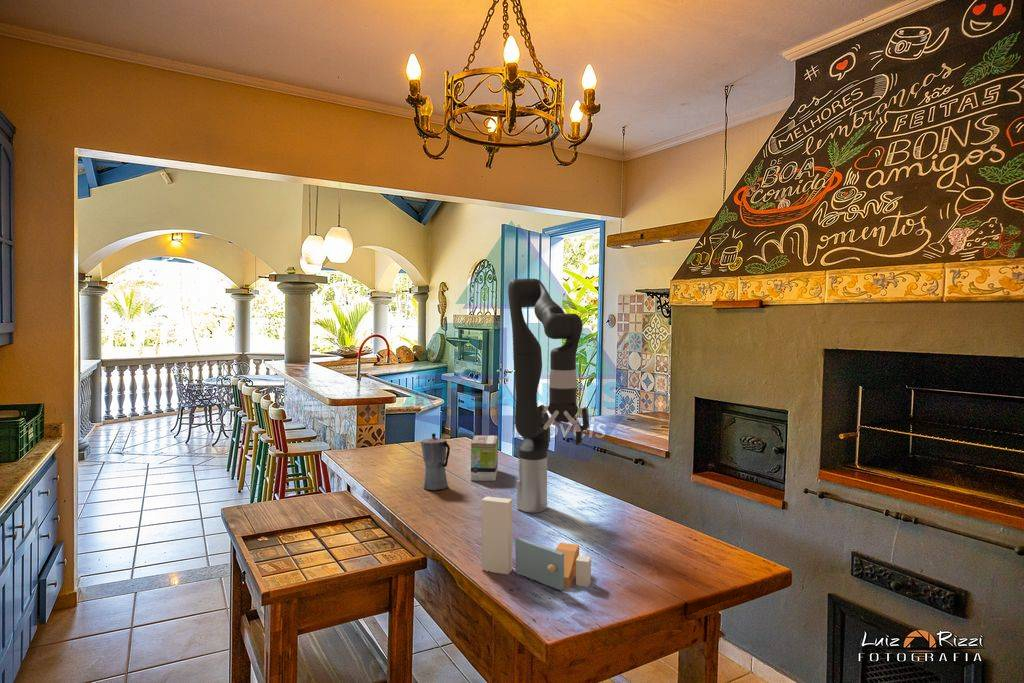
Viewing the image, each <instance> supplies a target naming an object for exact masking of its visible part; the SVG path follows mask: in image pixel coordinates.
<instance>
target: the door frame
mask: <svg viewBox="0 0 1024 683" xmlns="http://www.w3.org/2000/svg"><path fill="white" fill-rule="evenodd" d="M482 570H486V571H485V572H488V571H490V573H495V574H496V573H497V574H503V575H510V573H511V572H512V570H513V499H512V498H504V497H494V496H485V497H483V498H482V499H481V571H482ZM591 582H592V556H587V555H581V554H579V556H578V558H577V559H576V575H575V586H580V587H586V588H587V587H590V585H591Z"/></svg>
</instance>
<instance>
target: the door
mask: <svg viewBox="0 0 1024 683" xmlns="http://www.w3.org/2000/svg"><path fill="white" fill-rule="evenodd" d="M514 546H515V573H517V574H519V575H522V576H525V577H527V578H529V579H531V580H534V581H537V582H538V583H541V584H543V585H546V586H548V587H551V588H554V589H557V590H558V591H563V590H564V589H565V588H564V553H562V552H559V551H556V549H554V548H550V547H547V546H544V545H541V544H538V543H535V542H533V541H530V540H527V539H525V538H522V537H517V538H515V545H514Z"/></svg>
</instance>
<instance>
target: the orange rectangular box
mask: <svg viewBox="0 0 1024 683" xmlns="http://www.w3.org/2000/svg"><path fill="white" fill-rule="evenodd" d="M555 550H556V551H559V552H562V553H564V589H565V588H566V589H570V586H571V585H572V582H573V581H574V579H575V578H576V559H577V558H578V556H579V555H580V545H579V544H576V543H575V544H572V543H566V542H559V544H558V545H557V546H556V548H555Z"/></svg>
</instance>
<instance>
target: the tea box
mask: <svg viewBox="0 0 1024 683" xmlns="http://www.w3.org/2000/svg"><path fill="white" fill-rule="evenodd" d="M498 453H499V436H498V435H481V434H480V435H473V438H472V441H471V443H470V481H474V482H475V481H477V482H479V481H481V482H482V481H483V482H495V481H496V479H497V476H498V470H499V469H498V468H499V467H498V465H499V463H498V462H499V456H498V455H499V454H498Z"/></svg>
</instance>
